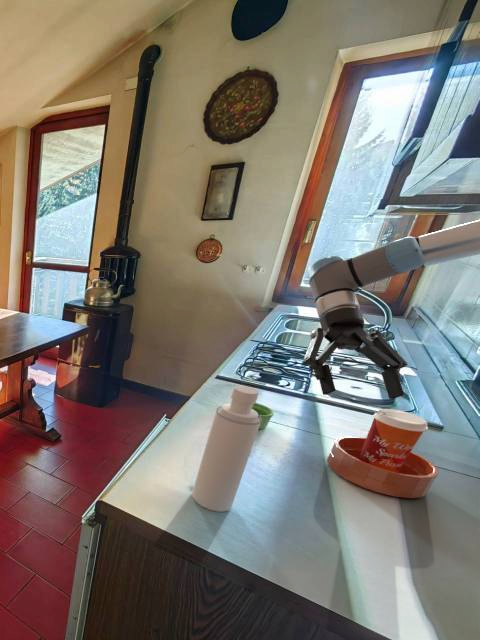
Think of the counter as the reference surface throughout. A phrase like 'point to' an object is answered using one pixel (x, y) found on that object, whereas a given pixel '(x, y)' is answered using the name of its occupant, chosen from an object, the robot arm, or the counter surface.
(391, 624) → the counter surface
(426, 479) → the bowl
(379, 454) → the paper cup
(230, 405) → the white bottle
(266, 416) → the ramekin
